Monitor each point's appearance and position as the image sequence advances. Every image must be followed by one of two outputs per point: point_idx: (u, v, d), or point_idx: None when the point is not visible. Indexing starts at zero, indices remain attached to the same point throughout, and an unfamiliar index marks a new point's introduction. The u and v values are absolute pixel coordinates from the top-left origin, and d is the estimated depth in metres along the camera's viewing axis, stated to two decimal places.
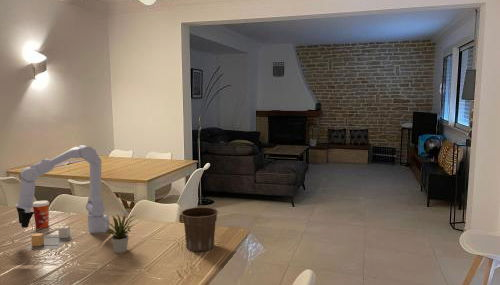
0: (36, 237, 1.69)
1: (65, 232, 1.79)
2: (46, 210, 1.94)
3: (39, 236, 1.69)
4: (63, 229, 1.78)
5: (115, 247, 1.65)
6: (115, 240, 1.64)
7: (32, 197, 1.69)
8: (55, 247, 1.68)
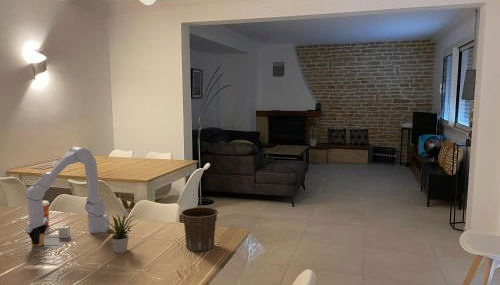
0: None
1: (65, 232, 1.79)
2: (46, 210, 1.94)
3: (39, 236, 1.69)
4: (63, 229, 1.78)
5: (115, 247, 1.65)
6: (115, 240, 1.64)
7: (38, 216, 1.67)
8: (55, 247, 1.68)
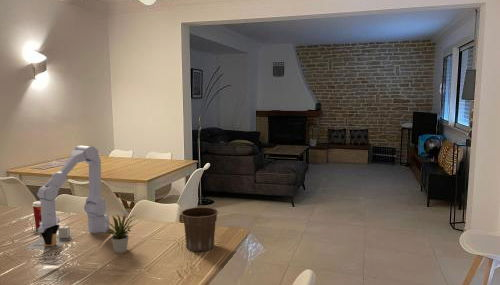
0: None
1: (65, 232, 1.79)
2: None
3: None
4: (63, 229, 1.78)
5: (115, 247, 1.65)
6: (115, 240, 1.64)
7: (51, 216, 1.67)
8: (55, 247, 1.68)
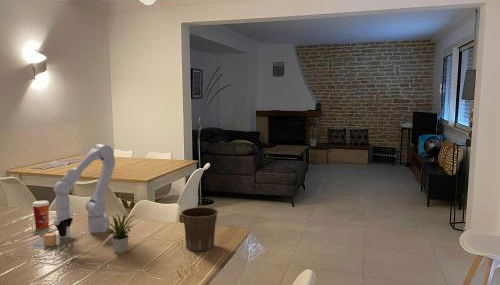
0: (49, 237, 1.69)
1: None
2: (46, 210, 1.94)
3: (52, 236, 1.69)
4: None
5: (115, 247, 1.65)
6: (115, 240, 1.64)
7: (65, 209, 1.77)
8: (55, 247, 1.68)
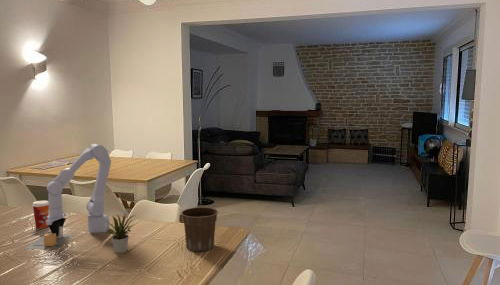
0: (49, 237, 1.69)
1: None
2: (46, 210, 1.94)
3: (52, 236, 1.69)
4: None
5: (115, 247, 1.65)
6: (115, 240, 1.64)
7: (58, 209, 1.77)
8: (55, 247, 1.68)
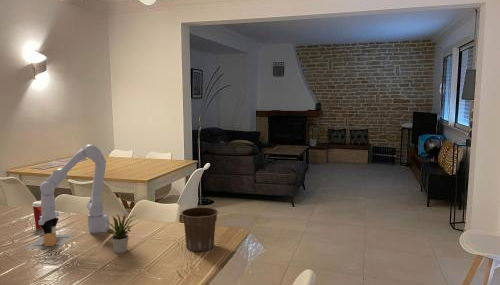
0: (49, 237, 1.69)
1: None
2: None
3: (52, 236, 1.69)
4: None
5: (115, 247, 1.65)
6: (115, 240, 1.64)
7: (50, 209, 1.77)
8: (55, 247, 1.68)
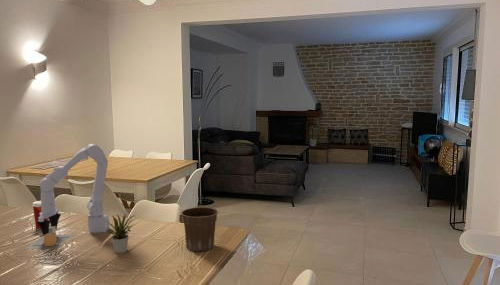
0: (49, 237, 1.69)
1: (50, 232, 1.79)
2: None
3: (52, 236, 1.69)
4: None
5: (115, 247, 1.65)
6: (115, 240, 1.64)
7: (50, 206, 1.77)
8: (55, 247, 1.68)
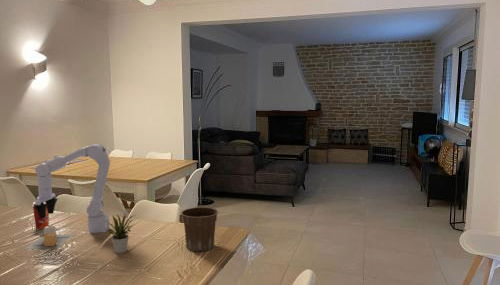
0: (49, 237, 1.69)
1: (50, 232, 1.79)
2: (46, 210, 1.94)
3: (52, 236, 1.69)
4: (48, 229, 1.78)
5: (115, 247, 1.65)
6: (115, 240, 1.64)
7: (47, 190, 1.82)
8: (55, 247, 1.68)
